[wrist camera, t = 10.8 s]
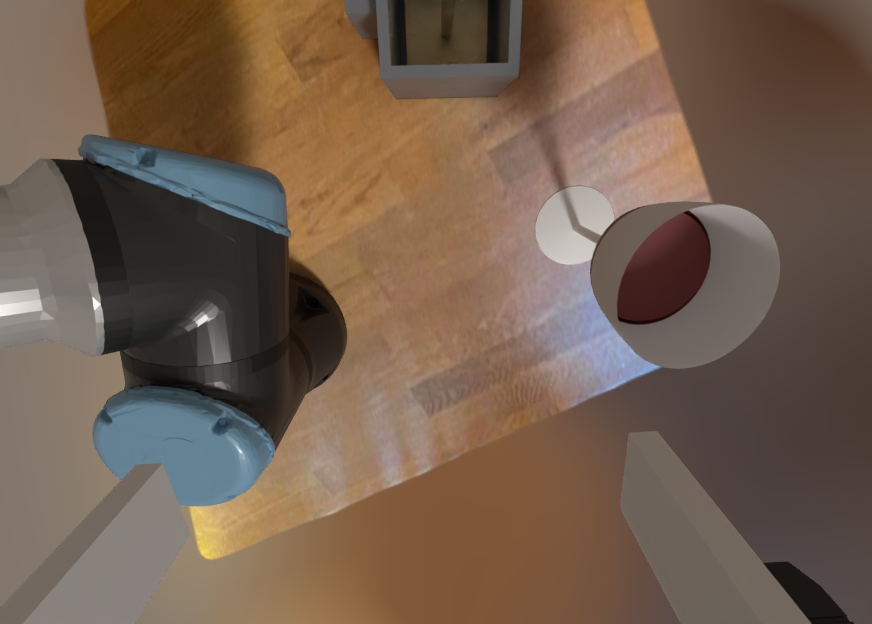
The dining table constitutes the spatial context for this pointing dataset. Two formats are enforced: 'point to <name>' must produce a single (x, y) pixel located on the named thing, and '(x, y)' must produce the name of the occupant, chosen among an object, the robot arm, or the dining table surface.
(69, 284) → the robot arm
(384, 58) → the press pot
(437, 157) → the dining table surface
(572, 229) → the wineglass
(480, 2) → the plunger
